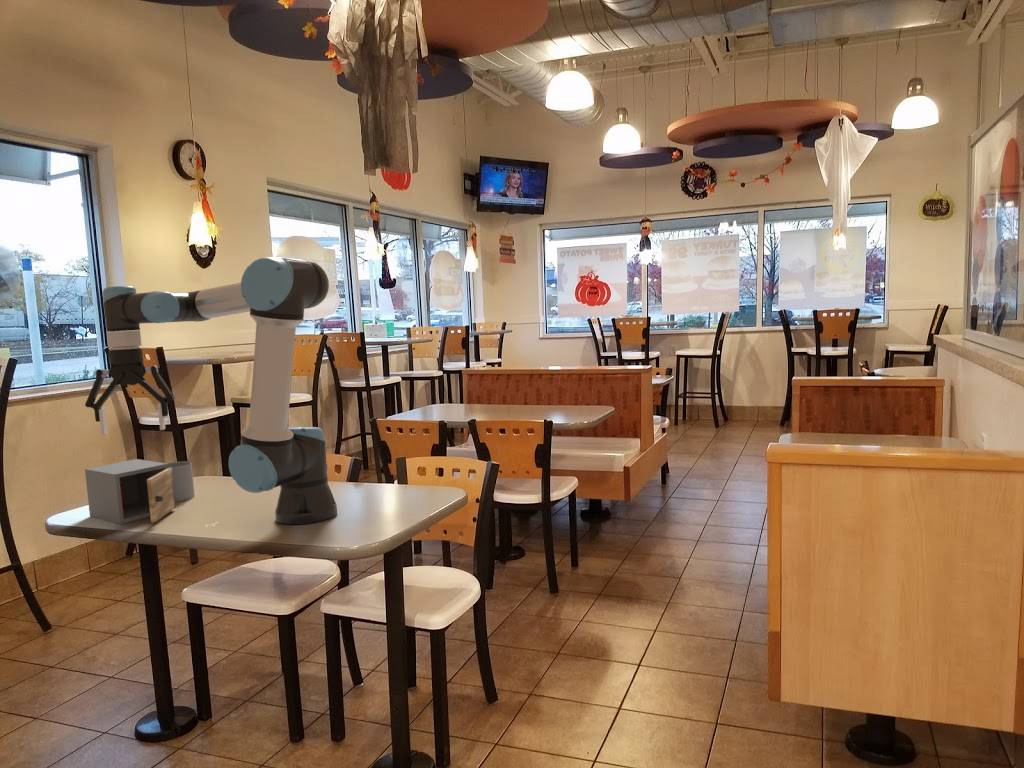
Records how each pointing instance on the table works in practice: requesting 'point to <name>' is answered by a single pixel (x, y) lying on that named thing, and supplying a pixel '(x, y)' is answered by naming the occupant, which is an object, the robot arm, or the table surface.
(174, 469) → the cup
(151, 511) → the wooden cabinet door
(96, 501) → the grey open box
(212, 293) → the robot arm
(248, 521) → the table surface
